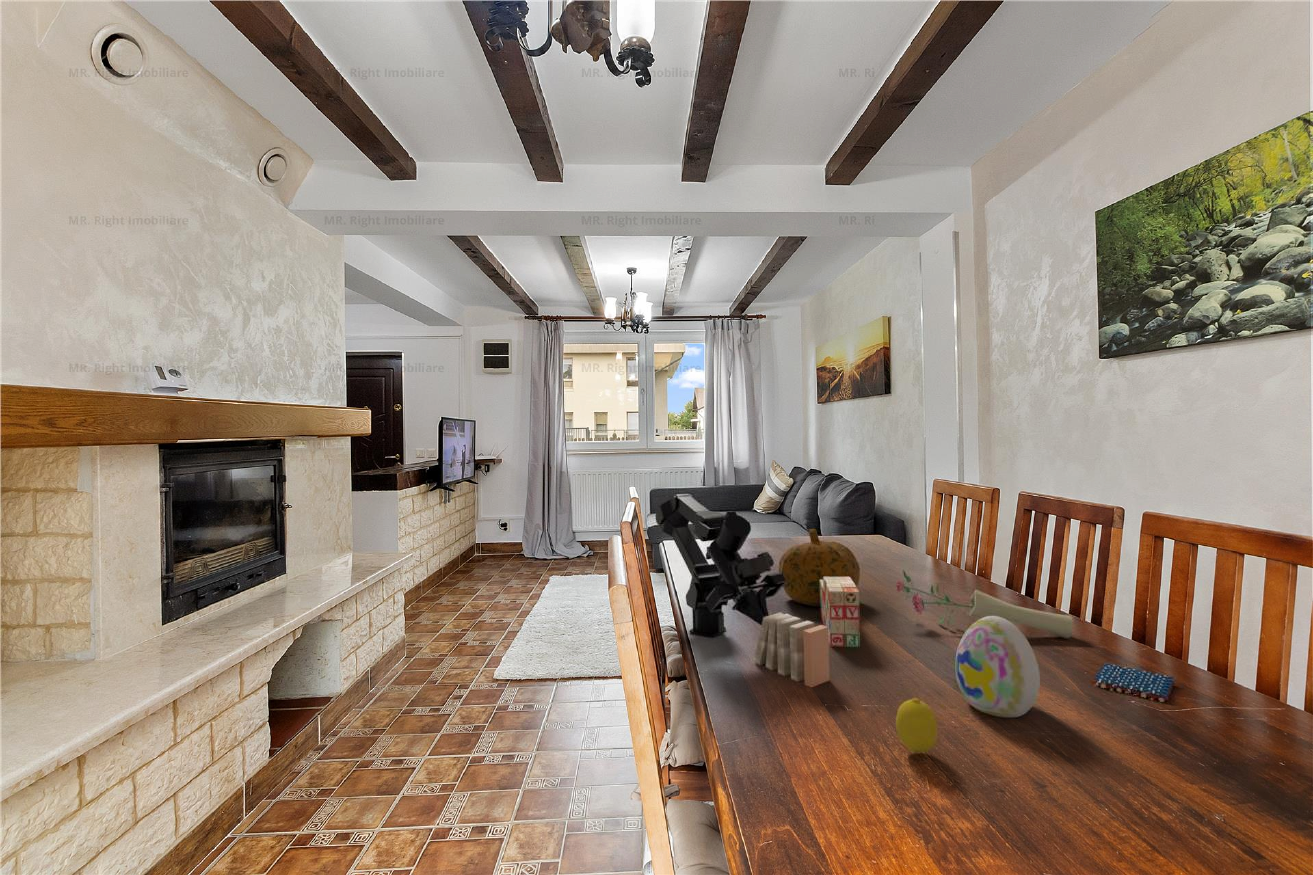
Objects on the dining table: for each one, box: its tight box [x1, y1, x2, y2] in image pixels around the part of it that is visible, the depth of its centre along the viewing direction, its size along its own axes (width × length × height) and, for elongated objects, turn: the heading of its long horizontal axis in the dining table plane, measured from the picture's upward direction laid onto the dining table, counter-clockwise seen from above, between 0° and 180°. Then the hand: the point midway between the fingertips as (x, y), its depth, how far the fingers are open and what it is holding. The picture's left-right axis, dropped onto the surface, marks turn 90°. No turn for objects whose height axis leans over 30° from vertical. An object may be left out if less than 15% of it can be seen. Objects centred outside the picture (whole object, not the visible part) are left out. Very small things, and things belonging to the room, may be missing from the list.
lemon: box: [895, 697, 939, 755], centre depth 87 cm, size 6×6×8 cm
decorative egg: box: [954, 616, 1041, 718], centre depth 101 cm, size 12×12×15 cm
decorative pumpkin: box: [778, 528, 861, 607], centre depth 163 cm, size 20×21×20 cm
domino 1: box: [753, 611, 784, 666], centre depth 122 cm, size 2×5×10 cm, turn 126°
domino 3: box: [777, 616, 802, 677], centre depth 117 cm, size 2×5×10 cm, turn 125°
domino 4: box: [790, 620, 815, 683], centre depth 115 cm, size 2×5×10 cm, turn 125°
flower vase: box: [895, 569, 1074, 639], centre depth 137 cm, size 12×12×35 cm
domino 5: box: [803, 624, 830, 688], centre depth 112 cm, size 2×5×10 cm, turn 125°
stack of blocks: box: [819, 577, 861, 648], centre depth 140 cm, size 21×6×12 cm, turn 171°
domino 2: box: [765, 613, 794, 671], centre depth 120 cm, size 2×5×10 cm, turn 125°
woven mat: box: [1091, 662, 1176, 703], centre depth 107 cm, size 10×11×2 cm
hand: (768, 627), depth 122 cm, fingers closed
